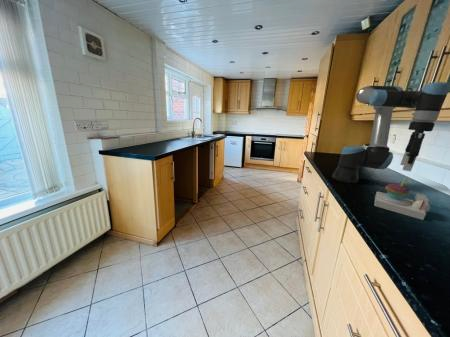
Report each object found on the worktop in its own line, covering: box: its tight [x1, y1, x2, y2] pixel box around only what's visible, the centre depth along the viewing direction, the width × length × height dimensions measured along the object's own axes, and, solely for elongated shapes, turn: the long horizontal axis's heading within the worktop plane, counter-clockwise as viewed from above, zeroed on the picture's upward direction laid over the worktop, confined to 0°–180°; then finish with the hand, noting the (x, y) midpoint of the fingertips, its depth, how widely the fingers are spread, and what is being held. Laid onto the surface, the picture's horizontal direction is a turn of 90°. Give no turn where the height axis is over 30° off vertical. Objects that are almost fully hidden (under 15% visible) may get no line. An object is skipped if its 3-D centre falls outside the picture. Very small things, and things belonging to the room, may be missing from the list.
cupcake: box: [385, 176, 410, 200], centre depth 89 cm, size 9×8×12 cm
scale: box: [374, 191, 431, 221], centre depth 89 cm, size 16×18×8 cm
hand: (405, 167), depth 86 cm, fingers open, 13 cm apart
